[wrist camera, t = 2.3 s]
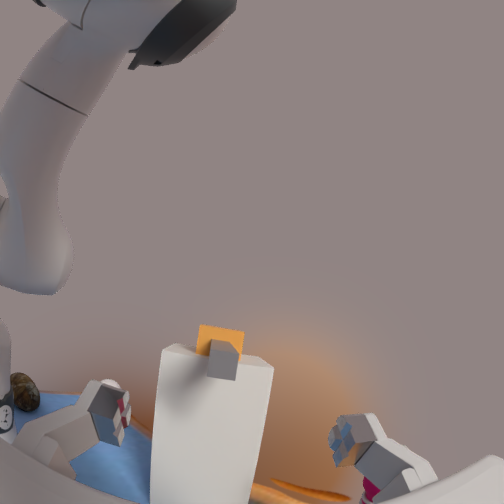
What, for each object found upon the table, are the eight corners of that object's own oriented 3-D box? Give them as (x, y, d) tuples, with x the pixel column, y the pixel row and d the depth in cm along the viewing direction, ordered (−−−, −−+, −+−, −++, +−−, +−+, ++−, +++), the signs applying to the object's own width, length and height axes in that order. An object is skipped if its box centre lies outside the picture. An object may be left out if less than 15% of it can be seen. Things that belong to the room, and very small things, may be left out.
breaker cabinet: (149, 504, 24) (162, 349, 31) (161, 468, 36) (175, 342, 43) (244, 517, 25) (274, 368, 32) (236, 479, 37) (257, 356, 44)
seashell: (34, 420, 33) (33, 387, 36) (0, 405, 30) (-2, 372, 32) (47, 404, 44) (47, 375, 46) (17, 392, 40) (17, 363, 42)
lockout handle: (185, 372, 21) (192, 326, 22) (198, 348, 42) (202, 324, 43) (256, 383, 21) (263, 338, 22) (235, 354, 42) (239, 330, 43)
